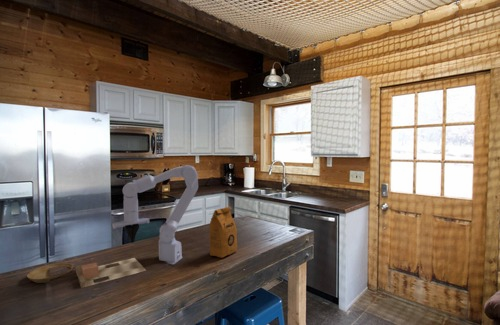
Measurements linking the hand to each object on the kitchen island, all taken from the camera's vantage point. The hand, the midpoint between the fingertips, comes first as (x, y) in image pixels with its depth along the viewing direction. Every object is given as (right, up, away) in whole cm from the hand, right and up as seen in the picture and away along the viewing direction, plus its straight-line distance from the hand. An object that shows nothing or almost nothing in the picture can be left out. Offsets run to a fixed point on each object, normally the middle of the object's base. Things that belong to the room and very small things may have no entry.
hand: (131, 242), depth 117 cm
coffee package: (+38, -9, +12) cm, 41 cm away
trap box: (-5, -10, -8) cm, 14 cm away
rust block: (-10, -9, -13) cm, 19 cm away
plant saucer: (-28, -11, -10) cm, 31 cm away
